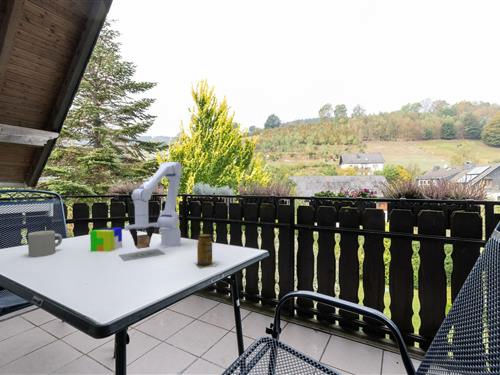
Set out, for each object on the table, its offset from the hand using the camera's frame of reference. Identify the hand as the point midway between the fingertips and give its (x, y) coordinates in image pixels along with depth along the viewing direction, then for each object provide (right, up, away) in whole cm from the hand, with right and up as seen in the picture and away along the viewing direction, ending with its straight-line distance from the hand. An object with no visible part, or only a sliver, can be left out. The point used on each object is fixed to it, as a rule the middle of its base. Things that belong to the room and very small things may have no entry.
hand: (142, 244), depth 124 cm
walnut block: (0, -1, 0) cm, 1 cm away
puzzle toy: (-22, -5, +11) cm, 25 cm away
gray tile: (0, -5, 0) cm, 5 cm away
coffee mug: (-47, -5, +4) cm, 47 cm away
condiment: (+31, -6, -13) cm, 34 cm away
